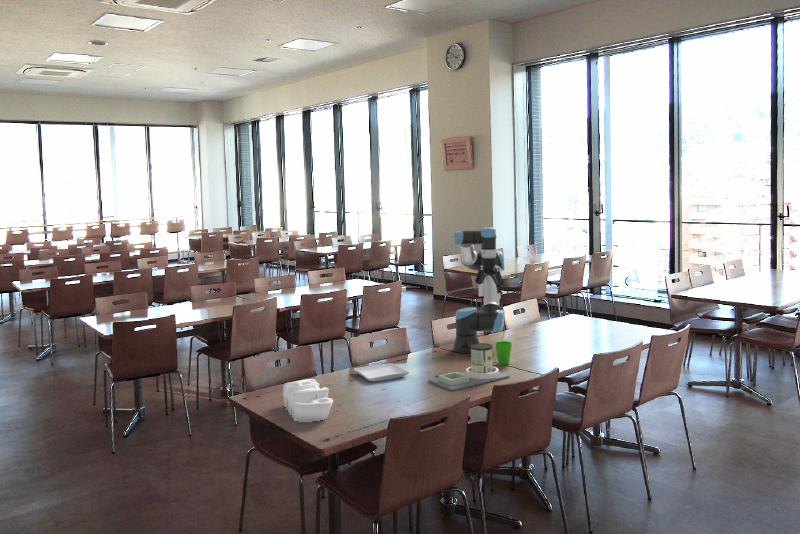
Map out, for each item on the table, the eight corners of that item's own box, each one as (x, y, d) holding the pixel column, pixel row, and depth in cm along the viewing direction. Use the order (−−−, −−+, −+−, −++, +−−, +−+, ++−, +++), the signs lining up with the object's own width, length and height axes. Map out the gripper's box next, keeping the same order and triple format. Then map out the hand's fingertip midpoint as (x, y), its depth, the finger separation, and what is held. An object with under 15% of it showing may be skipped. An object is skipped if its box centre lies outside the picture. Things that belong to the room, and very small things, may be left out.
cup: (512, 366, 336) (512, 345, 334) (494, 366, 338) (493, 344, 336) (513, 361, 344) (512, 340, 343) (495, 361, 346) (494, 340, 345)
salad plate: (352, 374, 332) (352, 367, 331) (392, 368, 340) (392, 362, 340) (368, 385, 313) (368, 378, 312) (410, 378, 321) (409, 371, 321)
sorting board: (428, 382, 314) (428, 374, 313) (484, 369, 332) (484, 362, 331) (451, 391, 299) (451, 383, 298) (509, 377, 317) (509, 370, 316)
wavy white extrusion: (281, 401, 292) (280, 378, 290) (318, 396, 297) (317, 373, 295) (294, 428, 259) (293, 401, 257) (336, 422, 264) (335, 396, 262)
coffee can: (475, 370, 326) (474, 342, 325) (495, 372, 322) (495, 343, 320) (468, 376, 317) (467, 347, 315) (489, 378, 313) (488, 348, 311)
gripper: (468, 256, 358) (468, 295, 360) (499, 259, 337) (499, 301, 340) (479, 255, 362) (479, 294, 364) (510, 258, 341) (511, 299, 344)
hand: (489, 297), depth 352 cm, fingers open, 13 cm apart
